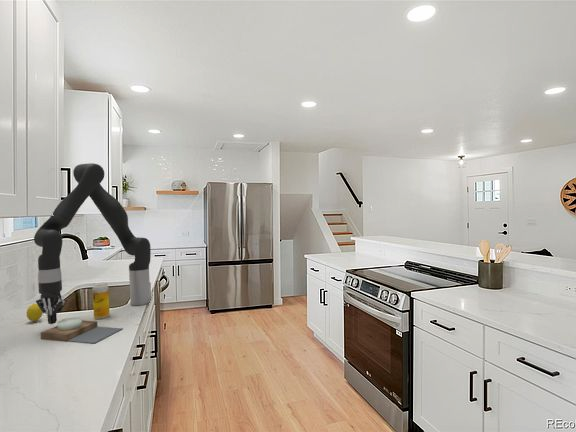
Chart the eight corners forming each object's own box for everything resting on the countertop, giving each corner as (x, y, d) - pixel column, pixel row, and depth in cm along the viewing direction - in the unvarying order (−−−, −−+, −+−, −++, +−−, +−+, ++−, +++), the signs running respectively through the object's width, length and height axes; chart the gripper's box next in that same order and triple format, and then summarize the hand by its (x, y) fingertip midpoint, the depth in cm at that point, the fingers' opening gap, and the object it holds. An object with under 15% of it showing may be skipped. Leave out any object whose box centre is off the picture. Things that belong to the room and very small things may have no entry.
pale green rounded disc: (69, 322, 134) (69, 316, 134) (87, 323, 132) (86, 317, 132) (52, 329, 126) (52, 323, 126) (70, 330, 125) (69, 324, 125)
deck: (73, 325, 138) (72, 319, 138) (97, 327, 135) (97, 321, 135) (40, 339, 124) (40, 332, 124) (67, 341, 121) (66, 334, 121)
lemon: (34, 324, 140) (33, 305, 140) (23, 323, 141) (22, 305, 141) (46, 319, 146) (45, 301, 145) (35, 319, 147) (35, 301, 146)
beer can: (90, 318, 146) (89, 284, 146) (104, 314, 151) (102, 281, 151) (99, 320, 143) (97, 286, 143) (112, 316, 149) (111, 282, 148)
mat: (98, 327, 135) (98, 326, 135) (122, 329, 132) (122, 328, 132) (67, 341, 121) (67, 340, 121) (94, 343, 118) (94, 342, 118)
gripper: (72, 278, 133) (74, 321, 133) (45, 277, 136) (47, 319, 137) (54, 282, 126) (57, 328, 126) (27, 281, 129) (29, 325, 129)
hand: (52, 323), depth 131 cm, fingers closed
